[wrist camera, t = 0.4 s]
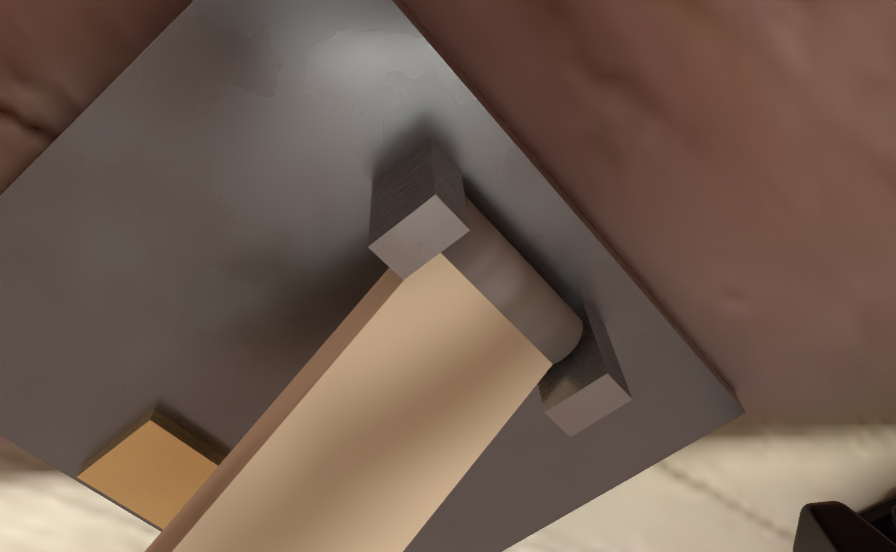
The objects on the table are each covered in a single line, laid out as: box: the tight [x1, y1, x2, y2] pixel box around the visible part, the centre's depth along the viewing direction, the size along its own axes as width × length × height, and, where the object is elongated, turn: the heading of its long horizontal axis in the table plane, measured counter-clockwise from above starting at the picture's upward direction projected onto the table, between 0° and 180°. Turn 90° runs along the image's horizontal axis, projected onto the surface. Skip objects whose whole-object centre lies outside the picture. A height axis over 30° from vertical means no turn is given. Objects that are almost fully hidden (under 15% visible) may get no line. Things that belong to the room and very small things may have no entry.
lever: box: [145, 196, 583, 552], centre depth 20 cm, size 5×16×2 cm
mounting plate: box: [0, 0, 745, 552], centre depth 23 cm, size 20×18×4 cm
